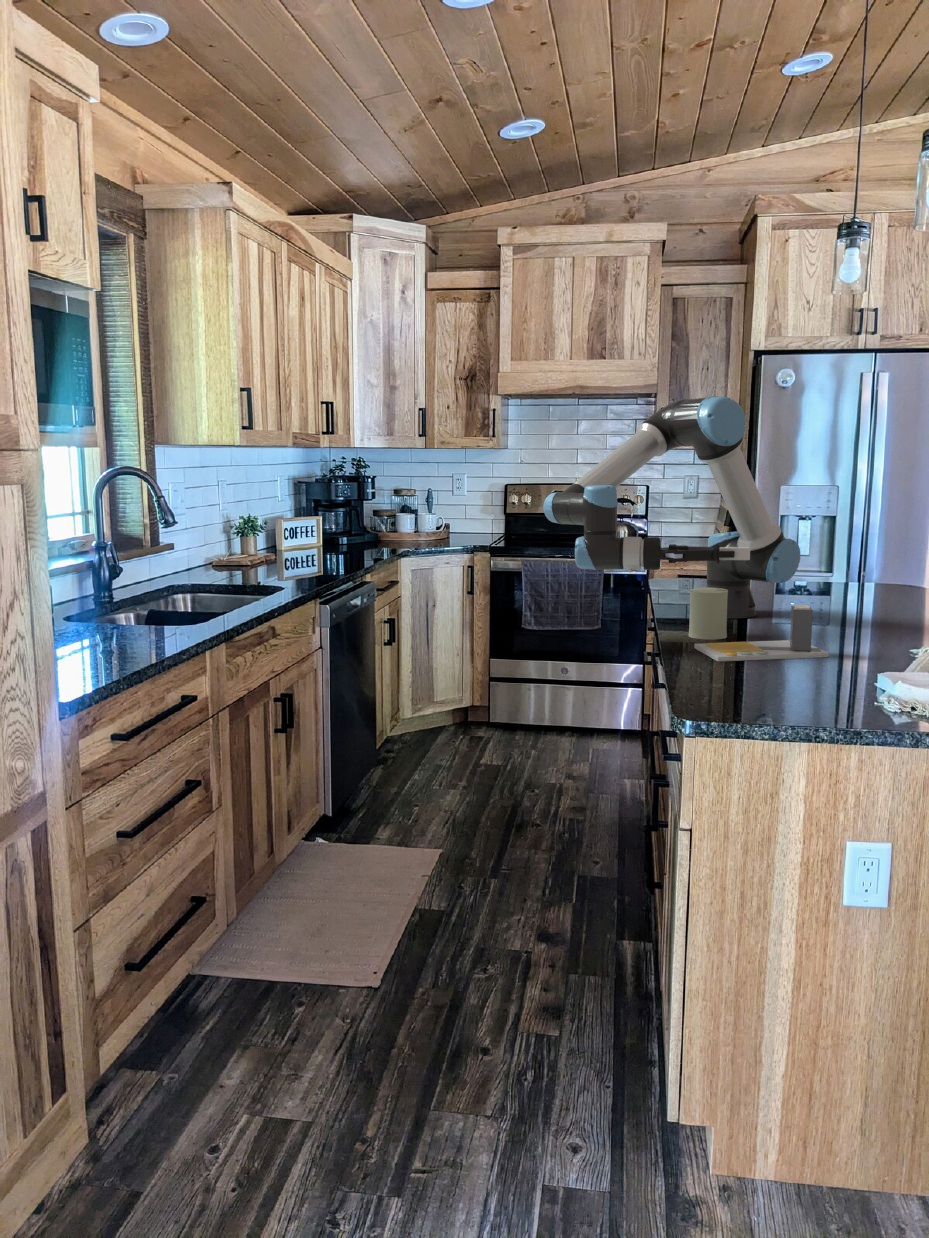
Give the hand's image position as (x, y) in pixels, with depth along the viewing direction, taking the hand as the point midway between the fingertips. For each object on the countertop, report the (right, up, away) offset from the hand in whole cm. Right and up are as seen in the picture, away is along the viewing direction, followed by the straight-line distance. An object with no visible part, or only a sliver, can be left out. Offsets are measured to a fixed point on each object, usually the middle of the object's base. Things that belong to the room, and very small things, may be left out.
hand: (749, 553), depth 212 cm
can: (-4, -19, +21) cm, 29 cm away
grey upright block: (+11, -21, -2) cm, 24 cm away
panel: (+2, -22, 0) cm, 22 cm away
